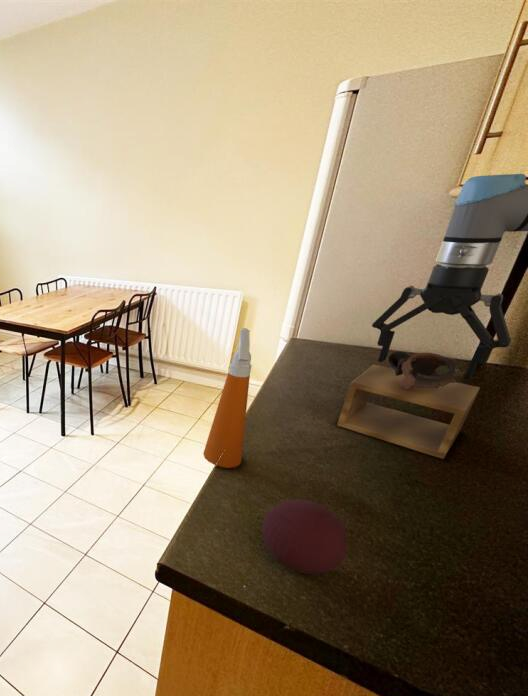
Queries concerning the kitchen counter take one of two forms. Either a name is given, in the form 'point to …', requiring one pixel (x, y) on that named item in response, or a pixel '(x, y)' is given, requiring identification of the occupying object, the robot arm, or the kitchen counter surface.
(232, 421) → the spray bottle
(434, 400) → the tan open box
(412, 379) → the pottery mug
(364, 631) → the kitchen counter surface
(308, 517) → the decorative ball
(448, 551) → the kitchen counter surface
